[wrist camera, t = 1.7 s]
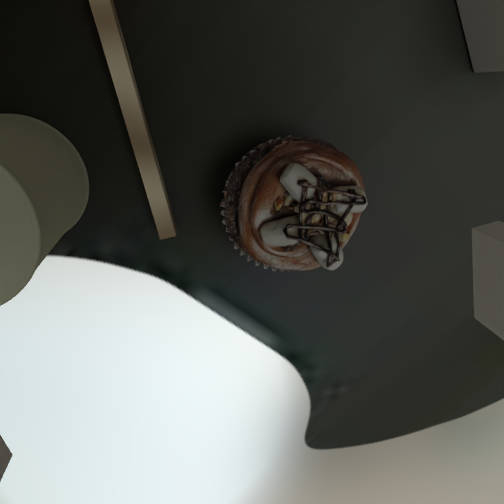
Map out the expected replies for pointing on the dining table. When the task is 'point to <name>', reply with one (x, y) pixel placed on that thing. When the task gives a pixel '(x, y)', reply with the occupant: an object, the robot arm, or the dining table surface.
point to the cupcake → (293, 204)
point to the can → (35, 196)
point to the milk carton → (484, 33)
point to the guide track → (133, 114)
